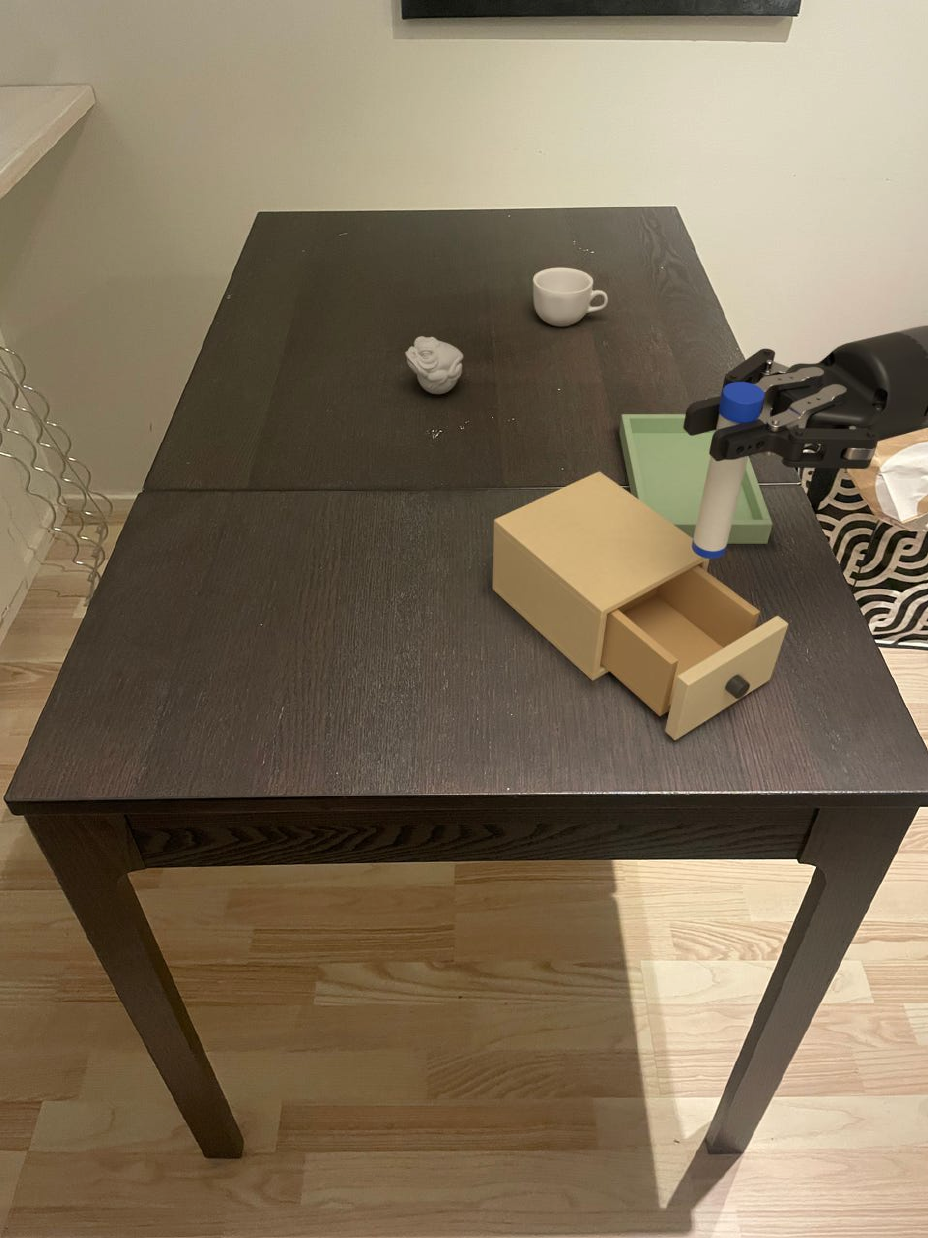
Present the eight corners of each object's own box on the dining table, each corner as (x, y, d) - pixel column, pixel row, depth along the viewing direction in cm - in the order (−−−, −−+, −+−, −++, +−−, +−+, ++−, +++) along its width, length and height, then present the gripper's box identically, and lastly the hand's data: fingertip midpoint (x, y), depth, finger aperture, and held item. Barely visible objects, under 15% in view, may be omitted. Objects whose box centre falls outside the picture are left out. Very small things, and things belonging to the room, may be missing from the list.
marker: (731, 543, 76) (769, 387, 66) (720, 564, 74) (758, 407, 64) (696, 532, 77) (729, 377, 67) (685, 553, 75) (717, 396, 65)
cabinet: (695, 621, 87) (711, 551, 81) (592, 681, 82) (601, 611, 76) (591, 539, 95) (599, 470, 89) (492, 589, 90) (493, 519, 84)
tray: (767, 543, 95) (773, 524, 93) (640, 543, 95) (643, 524, 93) (729, 432, 109) (733, 413, 107) (619, 432, 109) (621, 413, 107)
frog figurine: (401, 383, 117) (398, 330, 112) (456, 374, 118) (455, 321, 113) (414, 409, 112) (412, 355, 108) (471, 399, 114) (471, 345, 109)
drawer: (781, 688, 80) (800, 632, 75) (685, 750, 75) (700, 695, 71) (659, 592, 89) (670, 536, 84) (567, 643, 84) (572, 587, 79)
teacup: (525, 328, 126) (527, 289, 122) (537, 302, 132) (539, 264, 128) (600, 337, 124) (604, 298, 121) (609, 310, 130) (613, 272, 126)
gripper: (853, 295, 73) (656, 338, 68) (988, 384, 64) (771, 441, 59) (827, 382, 78) (642, 428, 74) (949, 475, 69) (747, 535, 64)
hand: (701, 433), depth 66 cm, fingers closed on marker, 3 cm apart
